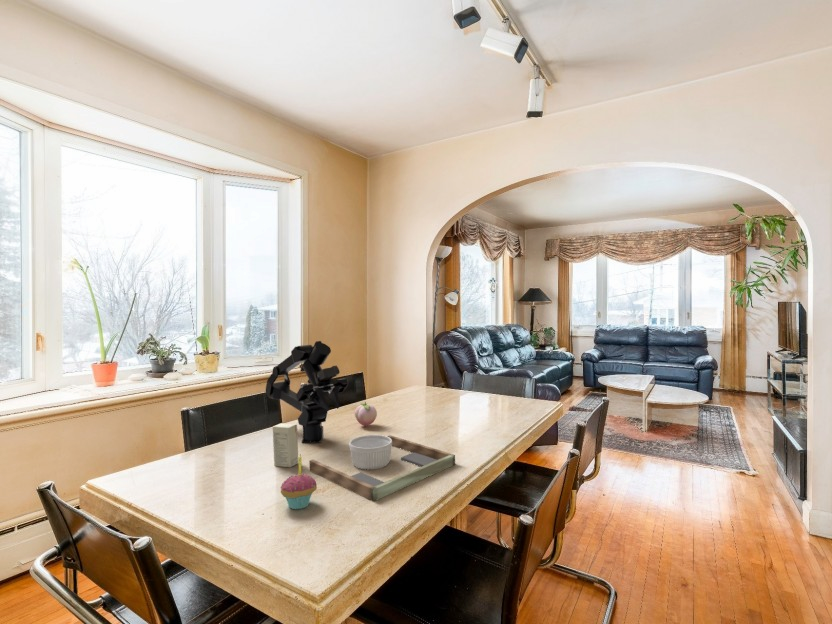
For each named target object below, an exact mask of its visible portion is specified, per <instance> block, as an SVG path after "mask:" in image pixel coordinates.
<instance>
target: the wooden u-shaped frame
mask: <svg viewBox="0 0 832 624" xmlns="http://www.w3.org/2000/svg"><path fill="white" fill-rule="evenodd" d="M387 437H389V438H391V439H392V446H391V447H394V448H397V449H400V448H401V449H400V450H403V449H404V450H403V451H406V450H407V451H406V452H409V451H410V452H409V453H412V452H413V453H414V452H415V453H418V454H421V455H424V456H427V457H430V458H433V459H436V461H434V462H432V463H429V464H427V465H424V466H422V467H420V466H419V467H418V468H415V469H413V470H410V471H408V472H406V473H403V474H401V475H398V476H396V477H394V478H391V479H388V480H386V481H383V482H384V483H381V484H379V485H376V486H372V485H369V484H367V483H365V482H363V481H360V480H358V479H356V478H354V477H351V476H352V475H349V474H347V473H344V472H342V471H340V470H338V469H335V468H333V467H331V466H329V465H326V464H324V463H323V462H319V461H318V460H315V459H310V460H309V472H311V473H314V474H316V475H318V476H320V477H322V478H324V479H326V480H328V481H330V482H332V483H334V484H337V485H338V486H340V487H343V488H345V489H347V490H349V491H351V492H353V493H355V494H357V495H358V496H359V495H360V496H361V497H363V498H365V499H367V500H370V501H372V502H375V501H378V500H379V499H382V498H384V497H387V496H389V495H391V494H393V493H395V491H396V492H398V491H400V490H403V489H404V487H405V488H407V487H408V486H412V485H414V484H416V483H418V482H420V481H422V480H424V478H425V479H426V477H427V478H428V476H429V477H431V476H433V475H436V474H437V472H438V473H440V472H442V471H444V469H445V470H447V469H449V468H451V467H453V466H455V465H456V455H455V454H453V453H451V452H447V451H443V450H440V449H436V448H433V447H430V446H428V445H427V446H426V445H424V444H421V443H417V442H413V441H412V440H411V441H410V440H406V439H403V438H400V437H396V436H394V435H391V434H389V435H387ZM435 473H436V474H435ZM419 480H420V481H419ZM417 481H418V482H417ZM415 482H416V483H415ZM406 486H407V487H406ZM399 489H400V490H399Z"/></svg>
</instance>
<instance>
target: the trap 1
mask: <svg viewBox="0 0 832 624" xmlns="http://www.w3.org/2000/svg"><path fill="white" fill-rule="evenodd" d="M350 476H351V477H354V478H356V479H358V480H360V481H363V482H365V483H367V484H369V485H372V486H376V485H379V484H381V483H384V482H385V481H383V480H380V479H377V477H373V476H370V475H368V474H366V473H365V472H364V473H363V472H362V471H361V472H358V473H356V474H352V475H350Z"/></svg>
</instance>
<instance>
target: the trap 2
mask: <svg viewBox="0 0 832 624" xmlns="http://www.w3.org/2000/svg"><path fill="white" fill-rule="evenodd" d="M400 460H401V461H403V460H404V462H406V461H407V462H406V463H409V464H411V463H412V465H414V464H415V466H417V465H418V466H417V467H419V468H420V467H422V466H424V465H427V464H429V463H432V462H434V461H436V459H433V458H430V457H427V456H424V455H421V454H418V453H415V452H414V453H412V452H410V453H409V454H406V455H404V456H401V457H400Z"/></svg>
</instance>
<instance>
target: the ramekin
mask: <svg viewBox="0 0 832 624" xmlns="http://www.w3.org/2000/svg"><path fill="white" fill-rule="evenodd" d="M387 436H388V435H387ZM387 436H386V435H382V434H367V435H361V436H357V437H354V438H352V439H350V440H349V445H348V447H349V449H350V456H351V462H352V464H353V465H354V466H355V468H357V469H361V470H366V469H367V470H369V469H371V470H377V469H378V470H379V469H381V468H384V467H386V466H387V465H388V464H389V463H390V462H391V461H390V460H391V454H392V447H393V446H392V439H391V438H389V437H387ZM367 470H366V471H367Z"/></svg>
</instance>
